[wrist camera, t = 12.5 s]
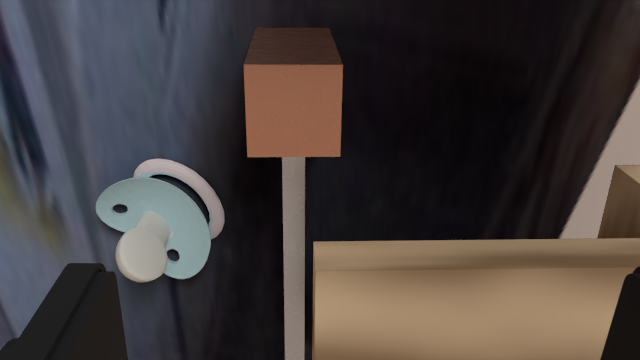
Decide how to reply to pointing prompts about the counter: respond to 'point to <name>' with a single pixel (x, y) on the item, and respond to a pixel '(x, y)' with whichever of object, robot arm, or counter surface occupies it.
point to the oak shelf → (477, 292)
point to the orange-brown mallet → (293, 136)
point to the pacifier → (161, 221)
